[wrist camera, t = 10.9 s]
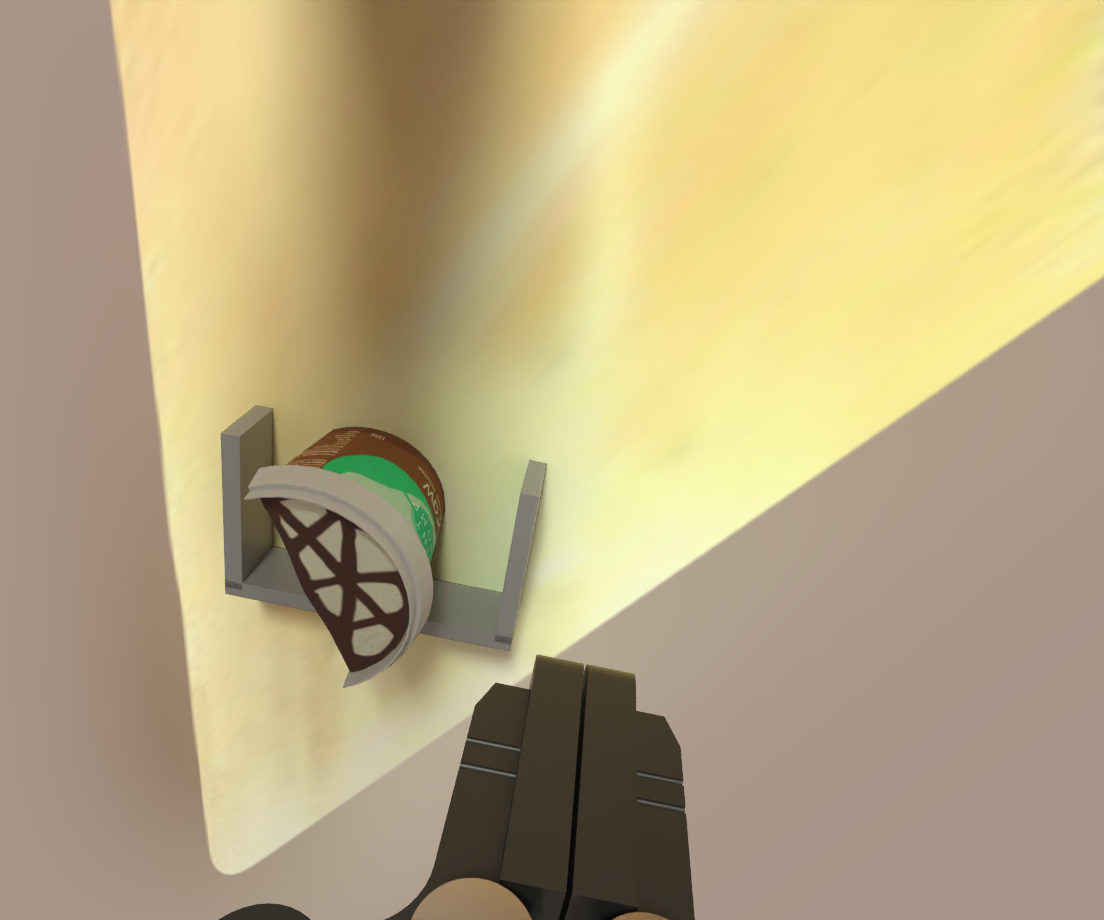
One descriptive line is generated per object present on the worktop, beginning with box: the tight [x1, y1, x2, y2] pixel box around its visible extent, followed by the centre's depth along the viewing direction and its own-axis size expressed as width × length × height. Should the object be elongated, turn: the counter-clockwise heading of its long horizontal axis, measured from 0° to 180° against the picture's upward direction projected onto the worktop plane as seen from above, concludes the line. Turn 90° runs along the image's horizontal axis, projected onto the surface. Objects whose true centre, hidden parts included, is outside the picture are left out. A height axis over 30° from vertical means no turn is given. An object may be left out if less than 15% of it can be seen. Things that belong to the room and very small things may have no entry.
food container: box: [244, 427, 445, 688], centre depth 39 cm, size 12×6×10 cm, turn 17°
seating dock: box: [221, 406, 547, 651], centre depth 42 cm, size 10×17×4 cm, turn 80°
